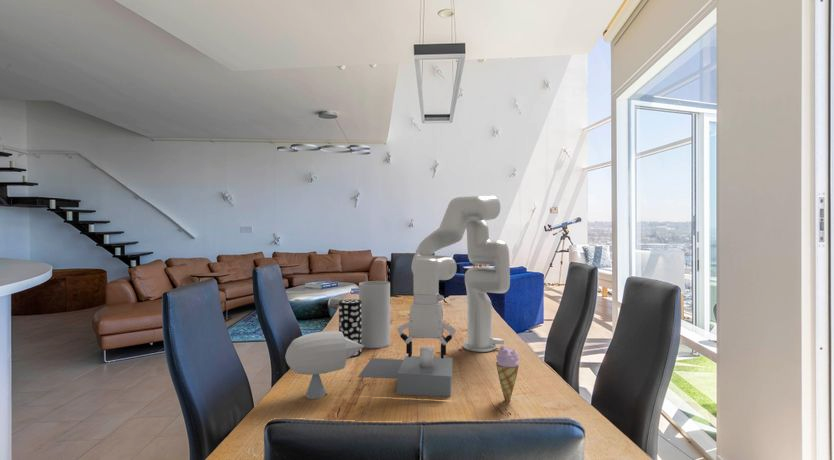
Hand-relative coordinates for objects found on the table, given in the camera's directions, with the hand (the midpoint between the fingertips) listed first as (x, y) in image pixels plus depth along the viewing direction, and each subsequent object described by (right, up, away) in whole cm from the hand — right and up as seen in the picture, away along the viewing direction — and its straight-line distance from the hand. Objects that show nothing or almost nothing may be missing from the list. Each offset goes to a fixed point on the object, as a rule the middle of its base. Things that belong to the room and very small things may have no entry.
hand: (426, 356), depth 119 cm
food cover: (0, -9, 0) cm, 9 cm away
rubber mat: (-11, -9, +14) cm, 20 cm away
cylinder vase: (-20, -9, +43) cm, 48 cm away
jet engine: (-29, -9, -6) cm, 31 cm away
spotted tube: (-28, -9, +30) cm, 41 cm away
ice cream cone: (+22, -9, -10) cm, 26 cm away
